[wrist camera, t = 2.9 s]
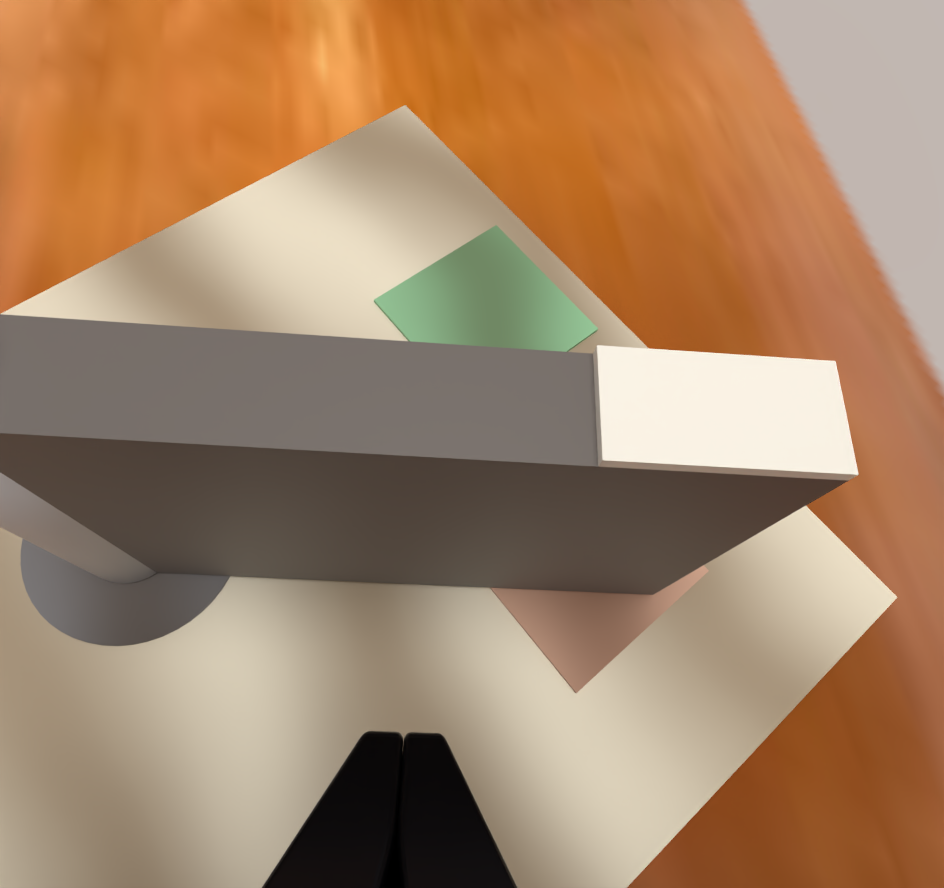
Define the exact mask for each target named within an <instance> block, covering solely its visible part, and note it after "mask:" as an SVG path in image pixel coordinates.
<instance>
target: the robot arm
mask: <svg viewBox="0 0 944 888" xmlns="http://www.w3.org/2000/svg"><path fill="white" fill-rule="evenodd" d="M262 888H518V887H517V885H516V883H515V881H514V879H513V877H512V875H511V872H510V870H509V868H508V866H507V864H506V862H505V860H504V858H503V856H502V854H501V852H500V850H499V848H498V846H497V843H496V841H495V839H494V837H493V835H492V833H491V831H490V829H489V827H488V825H487V823H486V821H485V819H484V817H483V815H482V812H481V810H480V808H479V806H478V804H477V802H476V800H475V798H474V796H473V794H472V792H471V790H470V788H469V786H468V784H467V781H466V779H465V777H464V775H463V773H462V771H461V769H460V767H459V765H458V763H457V761H456V759H455V757H454V755H453V753H452V750H451V748H450V746H449V744H448V742H447V740H446V739H445V737H444V736H443V735H442V734H440V733H423V732H409V733H407V734H406V735H405V737H404V742H403V736H402V734H401V733H399V732H390V731H367V732H365V733H364V734H363V735H362V736H361V737H360V738H359V740H358V741H357V743H356V745H355V746H354V748H353V749H352V751H351V752H350V754H349V755H348V757H347V758H346V760H345V761H344V763H343V764H342V766H341V767H340V769H339V770H338V772H337V773H336V775H335V777H334V778H333V780H332V781H331V783H330V784H329V786H328V787H327V789H326V790H325V792H324V793H323V795H322V796H321V798H320V799H319V801H318V802H317V804H316V806H315V807H314V809H313V810H312V812H311V813H310V815H309V816H308V818H307V819H306V821H305V822H304V824H303V825H302V827H301V828H300V830H299V831H298V833H297V834H296V836H295V838H294V839H293V841H292V842H291V844H290V845H289V847H288V848H287V850H286V851H285V853H284V854H283V856H282V857H281V859H280V860H279V862H278V863H277V865H276V866H275V868H274V870H273V871H272V873H271V874H270V876H269V877H268V879H267V880H266V882H265V883H264V885H263V886H262Z"/></svg>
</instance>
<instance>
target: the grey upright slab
mask: <svg viewBox="0 0 944 888" xmlns="http://www.w3.org/2000/svg"><path fill="white" fill-rule="evenodd" d="M857 475H858V470H857V465H856V460H855V455H854V450H853V445H852V440H851V435H850V430H849V425H848V420H847V415H846V410H845V406H844V401H843V396H842V391H841V386H840V381H839V376H838V371H837V366H836V361H825V360H810V359H796V358H781V357H766V356H751V355H736V354H721V353H706V352H691V351H676V350H661V349H647V348H632V347H617V346H602V345H597V346H596V348H595V350H594V353H593V354H592V353H577V352H562V351H547V350H532V349H517V348H502V347H487V346H472V345H457V344H442V343H427V342H412V341H396V340H381V339H366V338H351V337H336V336H321V335H306V334H291V333H276V332H261V331H246V330H231V329H216V328H200V327H185V326H170V325H155V324H140V323H125V322H110V321H95V320H80V319H65V318H50V317H35V316H20V315H4V314H0V527H1V528H3V529H5V530H7V531H9V532H11V533H13V534H15V535H17V536H19V537H21V538H23V539H25V540H27V541H29V542H31V543H33V544H34V545H36V546H38V547H40V548H42V549H44V550H46V551H48V552H50V553H52V554H54V555H56V556H58V557H60V558H62V559H64V560H66V561H68V562H70V563H72V564H74V565H76V566H78V567H80V568H82V569H84V570H86V571H88V572H90V573H92V574H94V575H95V576H97V577H99V578H101V579H104V580H106V581H109V582H113V583H134V582H138V581H141V580H144V579H146V578H149V577H150V576H152V575H154V574H156V573H175V574H197V575H220V576H242V577H265V578H287V579H310V580H332V581H355V582H377V583H400V584H422V585H445V586H467V587H490V588H512V589H535V590H557V591H580V592H602V593H625V594H647V595H654V594H655V593H657V592H659V591H661V590H662V589H664V588H666V587H667V586H669V585H671V584H673V583H674V582H676V581H678V580H679V579H681V578H683V577H684V576H686V575H688V574H690V573H691V572H693V571H695V570H696V569H698V568H700V567H702V566H703V565H705V564H707V563H708V562H710V561H712V560H714V559H715V558H717V557H719V556H720V555H722V554H724V553H725V552H727V551H729V550H731V549H732V548H734V547H736V546H737V545H739V544H741V543H743V542H744V541H746V540H748V539H749V538H751V537H753V536H755V535H756V534H758V533H760V532H761V531H763V530H765V529H767V528H768V527H770V526H772V525H773V524H775V523H777V522H778V521H780V520H782V519H784V518H785V517H787V516H789V515H790V514H792V513H794V512H796V511H797V510H799V509H801V508H802V507H804V506H806V505H808V504H809V503H811V502H813V501H814V500H816V499H818V498H819V497H821V496H823V495H825V494H826V493H828V492H830V491H831V490H833V489H835V488H837V487H838V486H840V485H842V484H843V483H845V482H847V481H849V480H850V479H852V478H854V477H855V476H857Z"/></svg>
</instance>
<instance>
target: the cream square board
mask: <svg viewBox="0 0 944 888" xmlns="http://www.w3.org/2000/svg"><path fill="white" fill-rule="evenodd" d="M1 314H4V315H20V316H35V317H50V318H65V319H80V320H95V321H110V322H125V323H140V324H155V325H170V326H185V327H200V328H216V329H231V330H246V331H261V332H276V333H291V334H306V335H321V336H336V337H351V338H366V339H381V340H396V341H412V342H427V343H442V344H457V345H472V346H487V347H502V348H517V349H532V350H547V351H562V352H577V353H592V354H593V353H594V350H595V348H596V346H597V345H602V346H617V347H632V348H647V349H649V348H648V347H647V346H646V345H645V344H644V343H643V342H642V341H641V340H640V339H639V338H638V337H637V336H636V335H635V334H634V333H633V332H632V331H631V330H630V329H629V328H628V327H627V326H626V325H625V324H624V323H623V322H622V321H621V320H620V319H619V318H618V317H617V316H616V315H615V314H614V313H613V312H612V311H611V310H610V309H609V308H608V307H607V306H606V305H605V304H604V303H603V302H602V301H601V300H600V299H599V298H598V297H597V296H596V295H595V294H594V293H593V292H592V291H591V290H590V289H589V288H588V287H587V286H586V285H585V284H584V283H583V282H582V281H581V280H580V279H579V278H578V277H577V276H576V275H575V274H574V273H573V272H572V271H571V270H570V269H569V268H568V267H567V266H566V265H565V264H564V263H563V262H562V261H561V260H560V259H559V258H558V257H557V256H556V255H555V254H554V253H553V252H552V251H551V250H550V249H549V248H548V247H547V246H546V245H545V244H544V243H543V242H542V241H541V240H540V239H539V238H538V237H537V236H536V235H535V234H534V233H533V232H532V231H531V230H530V229H529V228H528V227H527V226H526V225H525V224H524V223H523V222H522V221H521V220H520V219H519V218H518V217H517V216H516V215H515V214H514V213H513V212H512V211H511V210H510V209H509V208H508V207H507V206H506V205H505V204H504V203H503V202H502V201H501V200H500V199H499V198H498V197H497V196H496V195H495V194H494V193H493V192H492V191H491V190H490V189H489V188H488V187H487V186H486V185H485V184H484V183H483V182H482V181H481V180H480V179H479V178H478V177H477V176H476V175H475V174H474V173H473V172H472V171H471V170H470V169H469V168H468V167H467V166H466V165H465V164H464V163H463V162H462V161H461V160H460V159H459V158H458V157H457V156H456V155H455V154H454V153H453V152H452V151H451V150H450V149H449V148H448V147H447V146H446V145H445V144H444V143H443V142H442V141H441V140H440V139H439V138H438V137H437V136H436V135H435V134H434V133H433V132H432V131H431V130H430V129H429V128H428V127H427V126H426V125H425V124H424V123H423V122H422V121H421V120H420V119H419V118H418V117H417V116H416V115H415V114H414V113H413V112H412V111H411V110H410V109H409V108H408V107H407V106H406V105H404V106H402V107H401V108H399V109H397V110H395V111H393V112H391V113H389V114H387V115H385V116H383V117H381V118H379V119H377V120H375V121H373V122H371V123H369V124H368V125H366V126H364V127H362V128H360V129H358V130H356V131H354V132H352V133H350V134H348V135H346V136H344V137H342V138H340V139H338V140H337V141H335V142H333V143H331V144H329V145H327V146H325V147H323V148H321V149H319V150H317V151H315V152H313V153H311V154H309V155H307V156H306V157H304V158H302V159H300V160H298V161H296V162H294V163H292V164H290V165H288V166H286V167H284V168H282V169H280V170H278V171H276V172H274V173H273V174H271V175H269V176H267V177H265V178H263V179H261V180H259V181H257V182H255V183H253V184H251V185H249V186H247V187H245V188H243V189H242V190H240V191H238V192H236V193H234V194H232V195H230V196H228V197H226V198H224V199H222V200H220V201H218V202H216V203H214V204H212V205H210V206H209V207H207V208H205V209H203V210H201V211H199V212H197V213H195V214H193V215H191V216H189V217H187V218H185V219H183V220H181V221H179V222H178V223H176V224H174V225H172V226H170V227H168V228H166V229H164V230H162V231H160V232H158V233H156V234H154V235H152V236H150V237H148V238H146V239H145V240H143V241H141V242H139V243H137V244H135V245H133V246H131V247H129V248H127V249H125V250H123V251H121V252H119V253H117V254H115V255H114V256H112V257H110V258H108V259H106V260H104V261H102V262H100V263H98V264H96V265H94V266H92V267H90V268H88V269H86V270H84V271H83V272H81V273H79V274H77V275H75V276H73V277H71V278H69V279H67V280H65V281H63V282H61V283H59V284H57V285H55V286H53V287H51V288H50V289H48V290H46V291H44V292H42V293H40V294H38V295H36V296H34V297H32V298H30V299H28V300H26V301H24V302H22V303H20V304H19V305H17V306H15V307H13V308H11V309H9V310H7V311H5V312H3V313H1ZM896 598H897V596H896V595H895V594H894V593H893V592H892V591H891V590H890V589H889V588H888V587H887V586H886V585H885V584H884V583H883V582H882V581H881V580H880V579H879V578H878V577H877V576H876V575H875V574H874V573H873V572H872V571H871V570H870V569H869V568H868V567H867V566H866V565H865V564H864V563H863V562H862V561H861V560H860V559H859V558H858V557H857V556H856V555H855V554H854V553H853V552H852V551H851V550H850V549H849V548H848V547H847V546H846V545H845V544H844V543H843V542H842V541H841V540H840V539H839V538H838V537H837V536H836V535H835V534H834V533H833V532H832V531H831V530H830V529H829V528H828V527H827V526H826V525H825V524H824V523H823V522H822V521H821V520H820V519H819V518H818V517H817V516H816V515H815V514H814V513H813V512H812V511H811V510H810V509H809V508H808V507H807V506H804V507H802V508H801V509H799V510H797V511H796V512H794V513H792V514H790V515H789V516H787V517H785V518H784V519H782V520H780V521H778V522H777V523H775V524H773V525H772V526H770V527H768V528H767V529H765V530H763V531H761V532H760V533H758V534H756V535H755V536H753V537H751V538H749V539H748V540H746V541H744V542H743V543H741V544H739V545H737V546H736V547H734V548H732V549H731V550H729V551H727V552H725V553H724V554H722V555H720V556H719V557H717V558H715V559H714V560H712V561H710V562H708V563H707V564H705V565H703V566H702V567H700V568H698V569H696V570H695V571H693V572H691V573H690V574H688V575H686V576H684V577H683V578H681V579H679V580H678V581H676V582H674V583H673V584H671V585H669V586H667V587H666V588H664V589H662V590H661V591H659V592H657V593H655V594H654V595H647V594H625V593H602V592H580V591H557V590H535V589H512V588H490V587H467V586H445V585H422V584H400V583H377V582H355V581H332V580H310V579H287V578H265V577H242V576H220V575H197V574H175V573H156V574H154V575H152V576H150V577H149V578H146V579H144V580H141V581H138V582H134V583H113V582H109V581H106V580H104V579H101V578H99V577H97V576H95V575H94V574H92V573H90V572H88V571H86V570H84V569H82V568H80V567H78V566H76V565H74V564H72V563H70V562H68V561H66V560H64V559H62V558H60V557H58V556H56V555H54V554H52V553H50V552H48V551H46V550H44V549H42V548H40V547H38V546H36V545H34V544H33V543H31V542H29V541H27V540H25V539H23V538H21V537H19V536H17V535H15V534H13V533H11V532H9V531H7V530H5V529H3V528H1V527H0V888H262V886H263V885H264V883H265V882H266V880H267V879H268V877H269V876H270V874H271V873H272V871H273V870H274V868H275V866H276V865H277V863H278V862H279V860H280V859H281V857H282V856H283V854H284V853H285V851H286V850H287V848H288V847H289V845H290V844H291V842H292V841H293V839H294V838H295V836H296V834H297V833H298V831H299V830H300V828H301V827H302V825H303V824H304V822H305V821H306V819H307V818H308V816H309V815H310V813H311V812H312V810H313V809H314V807H315V806H316V804H317V802H318V801H319V799H320V798H321V796H322V795H323V793H324V792H325V790H326V789H327V787H328V786H329V784H330V783H331V781H332V780H333V778H334V777H335V775H336V773H337V772H338V770H339V769H340V767H341V766H342V764H343V763H344V761H345V760H346V758H347V757H348V755H349V754H350V752H351V751H352V749H353V748H354V746H355V745H356V743H357V741H358V740H359V738H360V737H361V736H362V735H363V734H364V733H365V732H367V731H390V732H399V733H401V734H402V736H403V742H404V737H405V735H406V734H407V733H409V732H423V733H440V734H442V735H443V736H444V737H445V739H446V740H447V742H448V744H449V746H450V748H451V750H452V753H453V755H454V757H455V759H456V761H457V763H458V765H459V767H460V769H461V771H462V773H463V775H464V777H465V779H466V781H467V784H468V786H469V788H470V790H471V792H472V794H473V796H474V798H475V800H476V802H477V804H478V806H479V808H480V810H481V812H482V815H483V817H484V819H485V821H486V823H487V825H488V827H489V829H490V831H491V833H492V835H493V837H494V839H495V841H496V843H497V846H498V848H499V850H500V852H501V854H502V856H503V858H504V860H505V862H506V864H507V866H508V868H509V870H510V872H511V875H512V877H513V879H514V881H515V883H516V885H517V887H518V888H627V887H628V886H629V885H630V884H631V883H632V882H633V880H634V879H635V878H636V877H637V876H638V875H639V874H640V873H641V872H642V871H643V870H644V869H645V868H646V866H647V865H648V864H649V863H650V862H651V861H652V860H653V859H654V858H655V857H656V856H657V855H658V854H659V853H660V851H661V850H662V849H663V848H664V847H665V846H666V845H667V844H668V843H669V842H670V841H671V840H672V839H673V838H674V836H675V835H676V834H677V833H678V832H679V831H680V830H681V829H682V828H683V827H684V826H685V825H686V824H687V822H688V821H689V820H690V819H691V818H692V817H693V816H694V815H695V814H696V813H697V812H698V811H699V810H700V809H701V807H702V806H703V805H704V804H705V803H706V802H707V801H708V800H709V799H710V798H711V797H712V796H713V795H714V793H715V792H716V791H717V790H718V789H719V788H720V787H721V786H722V785H723V784H724V783H725V782H726V781H727V780H728V778H729V777H730V776H731V775H732V774H733V773H734V772H735V771H736V770H737V769H738V768H739V767H740V766H741V764H742V763H743V762H744V761H745V760H746V759H747V758H748V757H749V756H750V755H751V754H752V753H753V752H754V751H755V749H756V748H757V747H758V746H759V745H760V744H761V743H762V742H763V741H764V740H765V739H766V738H767V737H768V735H769V734H770V733H771V732H772V731H773V730H774V729H775V728H776V727H777V726H778V725H779V724H780V723H781V722H782V720H783V719H784V718H785V717H786V716H787V715H788V714H789V713H790V712H791V711H792V710H793V709H794V708H795V707H796V705H797V704H798V703H799V702H800V701H801V700H802V699H803V698H804V697H805V696H806V695H807V694H808V693H809V691H810V690H811V689H812V688H813V687H814V686H815V685H816V684H817V683H818V682H819V681H820V680H821V679H822V678H823V676H824V675H825V674H826V673H827V672H828V671H829V670H830V669H831V668H832V667H833V666H834V665H835V664H836V662H837V661H838V660H839V659H840V658H841V657H842V656H843V655H844V654H845V653H846V652H847V651H848V650H849V649H850V647H851V646H852V645H853V644H854V643H855V642H856V641H857V640H858V639H859V638H860V637H861V636H862V635H863V633H864V632H865V631H866V630H867V629H868V628H869V627H870V626H871V625H872V624H873V623H874V622H875V621H876V620H877V618H878V617H879V616H880V615H881V614H882V613H883V612H884V611H885V610H886V609H887V608H888V607H889V606H890V604H891V603H892V602H893V601H894V600H895V599H896Z"/></svg>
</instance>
